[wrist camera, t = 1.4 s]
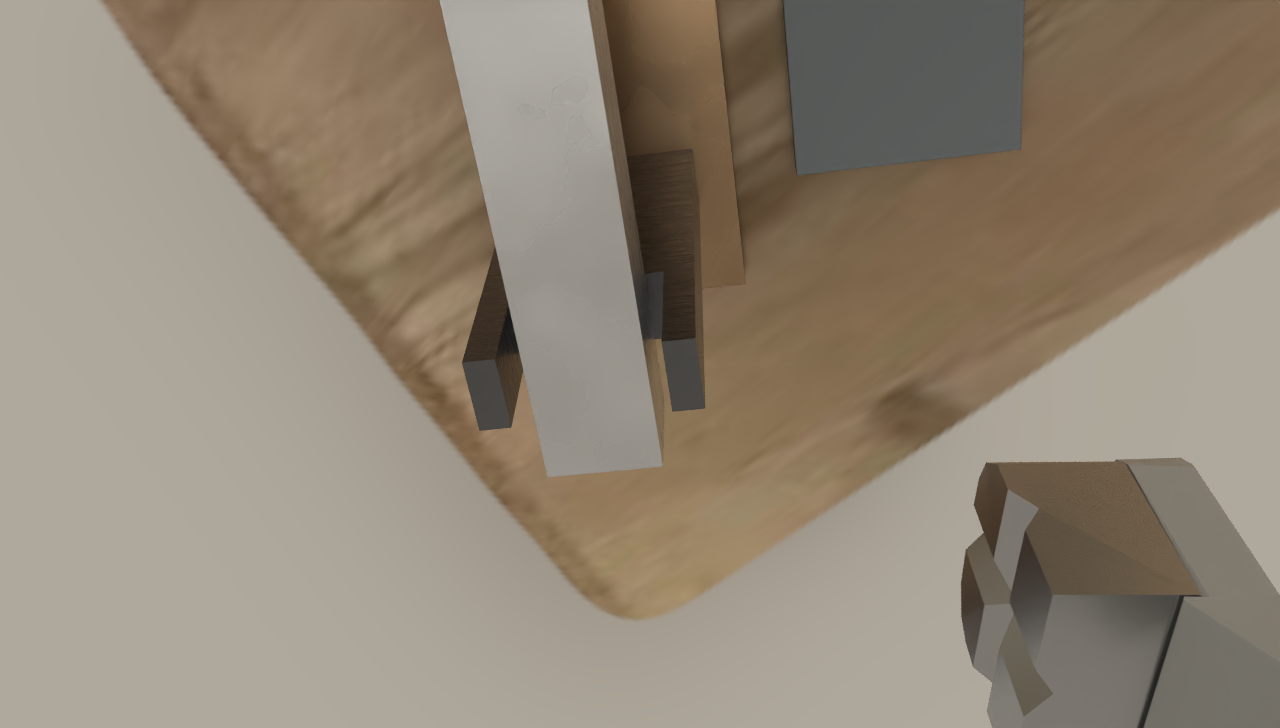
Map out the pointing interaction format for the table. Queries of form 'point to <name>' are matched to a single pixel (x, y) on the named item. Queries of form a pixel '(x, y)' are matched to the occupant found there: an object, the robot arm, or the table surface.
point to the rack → (649, 199)
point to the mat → (902, 80)
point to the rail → (563, 225)
